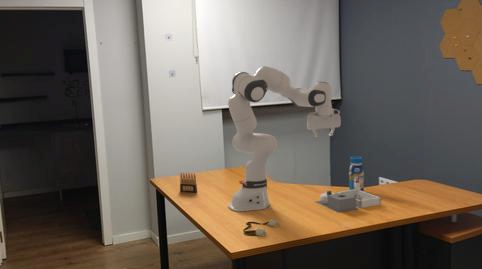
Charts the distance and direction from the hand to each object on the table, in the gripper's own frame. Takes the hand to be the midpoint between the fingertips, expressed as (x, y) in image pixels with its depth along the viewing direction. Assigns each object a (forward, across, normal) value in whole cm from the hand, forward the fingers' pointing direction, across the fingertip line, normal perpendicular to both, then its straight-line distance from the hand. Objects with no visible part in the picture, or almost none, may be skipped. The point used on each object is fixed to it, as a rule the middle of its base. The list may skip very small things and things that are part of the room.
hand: (323, 136), depth 258 cm
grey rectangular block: (+34, -7, -21) cm, 41 cm away
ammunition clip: (+34, -64, +50) cm, 88 cm away
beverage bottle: (+34, +22, 0) cm, 41 cm away
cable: (+35, -56, -30) cm, 73 cm away
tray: (+34, +7, -21) cm, 41 cm away
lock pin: (+33, +7, -22) cm, 40 cm away
